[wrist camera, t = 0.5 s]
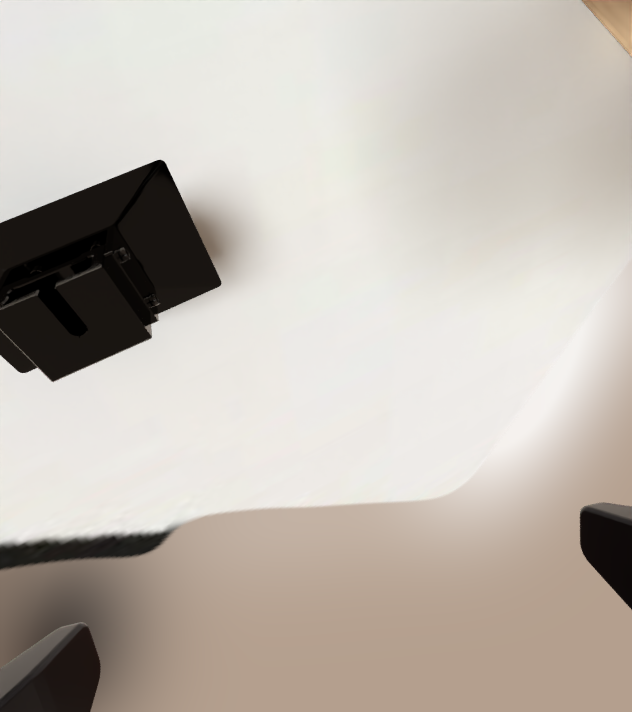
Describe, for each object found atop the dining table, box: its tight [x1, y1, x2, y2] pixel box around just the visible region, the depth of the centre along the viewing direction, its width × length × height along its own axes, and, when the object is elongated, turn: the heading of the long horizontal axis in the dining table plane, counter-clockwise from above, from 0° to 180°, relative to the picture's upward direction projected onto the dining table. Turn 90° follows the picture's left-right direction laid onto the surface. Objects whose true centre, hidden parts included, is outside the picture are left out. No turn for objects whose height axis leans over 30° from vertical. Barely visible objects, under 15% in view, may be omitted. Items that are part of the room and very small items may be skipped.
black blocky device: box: [0, 160, 221, 382], centre depth 15 cm, size 12×7×5 cm, turn 107°
